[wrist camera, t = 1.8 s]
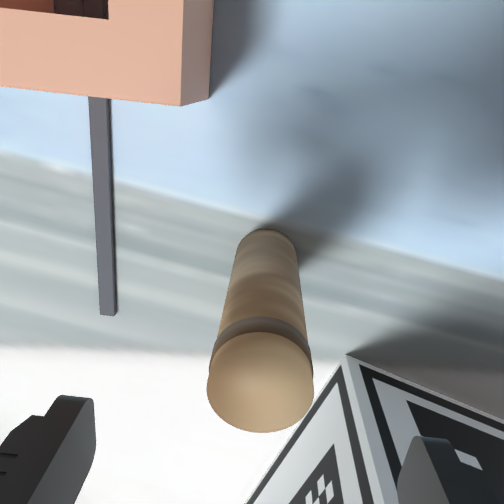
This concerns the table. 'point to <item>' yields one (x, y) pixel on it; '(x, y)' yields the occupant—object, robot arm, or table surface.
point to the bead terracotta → (110, 50)
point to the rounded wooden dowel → (262, 340)
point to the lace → (102, 184)
